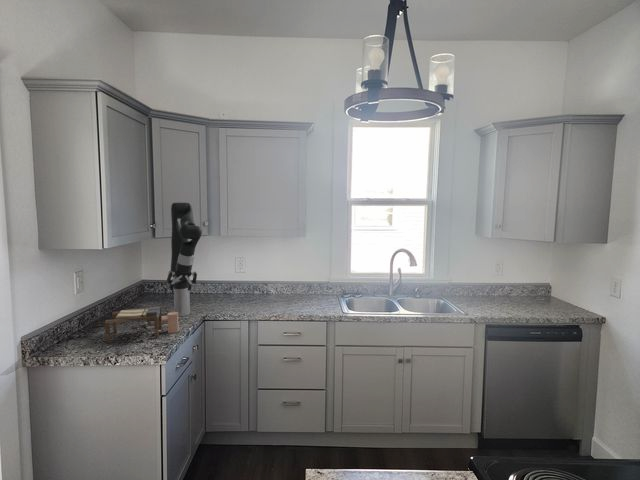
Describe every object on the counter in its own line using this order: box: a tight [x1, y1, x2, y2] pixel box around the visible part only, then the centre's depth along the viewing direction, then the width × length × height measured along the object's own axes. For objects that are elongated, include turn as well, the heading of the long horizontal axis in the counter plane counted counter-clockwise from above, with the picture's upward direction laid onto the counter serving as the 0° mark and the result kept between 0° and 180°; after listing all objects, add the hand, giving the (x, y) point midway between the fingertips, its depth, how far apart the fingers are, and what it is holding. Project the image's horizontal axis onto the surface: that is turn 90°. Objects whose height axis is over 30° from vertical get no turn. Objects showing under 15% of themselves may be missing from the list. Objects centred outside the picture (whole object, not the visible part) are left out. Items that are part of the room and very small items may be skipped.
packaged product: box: [144, 314, 181, 330], centre depth 212 cm, size 18×5×10 cm
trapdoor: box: [116, 305, 161, 322], centre depth 193 cm, size 13×19×4 cm
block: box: [166, 311, 179, 334], centre depth 199 cm, size 5×5×10 cm
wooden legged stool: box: [104, 307, 163, 345], centre depth 193 cm, size 17×24×12 cm
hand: (180, 289), depth 192 cm, fingers open, 8 cm apart
